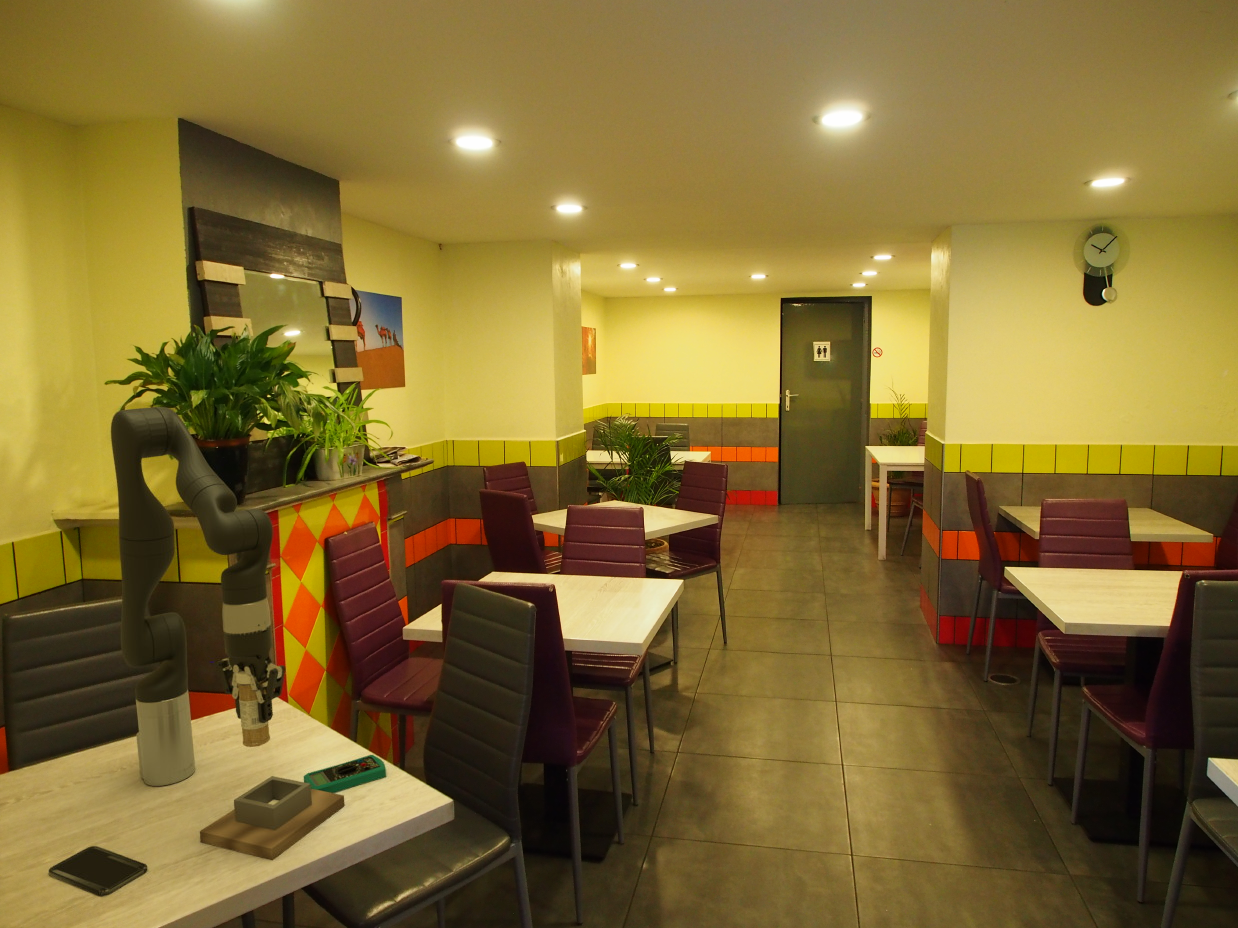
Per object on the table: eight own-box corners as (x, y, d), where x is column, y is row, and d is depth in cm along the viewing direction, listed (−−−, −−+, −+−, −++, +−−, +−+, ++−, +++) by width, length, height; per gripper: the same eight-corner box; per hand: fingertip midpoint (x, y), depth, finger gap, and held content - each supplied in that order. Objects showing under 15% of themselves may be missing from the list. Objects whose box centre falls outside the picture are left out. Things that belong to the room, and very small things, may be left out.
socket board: (200, 841, 143) (199, 829, 143) (277, 791, 160) (276, 780, 159) (272, 859, 137) (271, 847, 137) (344, 805, 154) (343, 794, 154)
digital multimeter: (389, 778, 165) (388, 764, 164) (313, 802, 156) (312, 787, 156) (376, 764, 171) (375, 750, 170) (302, 786, 162) (301, 772, 162)
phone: (103, 893, 128) (45, 869, 135) (104, 900, 128) (46, 876, 135) (150, 865, 135) (93, 843, 142) (151, 871, 136) (94, 849, 142)
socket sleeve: (235, 821, 146) (233, 799, 145) (273, 795, 154) (271, 775, 154) (275, 830, 142) (273, 808, 142) (311, 804, 151) (310, 783, 150)
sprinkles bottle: (269, 734, 148) (264, 662, 147) (270, 744, 144) (264, 670, 142) (242, 739, 146) (235, 666, 145) (242, 750, 142) (235, 675, 141)
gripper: (198, 627, 142) (207, 722, 144) (261, 635, 136) (269, 734, 139) (233, 614, 149) (241, 705, 151) (295, 622, 143) (302, 716, 145)
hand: (254, 718), depth 145 cm, fingers closed on sprinkles bottle, 4 cm apart
